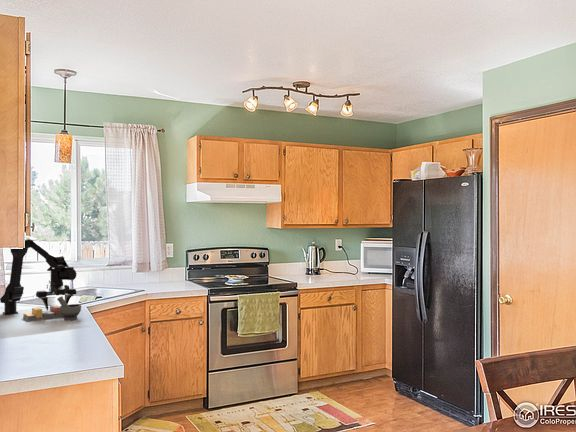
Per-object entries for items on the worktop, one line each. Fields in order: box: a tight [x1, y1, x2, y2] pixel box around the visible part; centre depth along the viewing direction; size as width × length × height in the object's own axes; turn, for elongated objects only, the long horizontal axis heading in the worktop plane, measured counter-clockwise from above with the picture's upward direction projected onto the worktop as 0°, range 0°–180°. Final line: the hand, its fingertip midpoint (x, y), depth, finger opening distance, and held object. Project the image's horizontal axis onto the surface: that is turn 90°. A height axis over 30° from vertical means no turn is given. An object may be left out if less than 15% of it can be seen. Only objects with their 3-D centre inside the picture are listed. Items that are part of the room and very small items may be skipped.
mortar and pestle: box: [57, 295, 82, 322], centre depth 258 cm, size 11×9×12 cm
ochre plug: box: [31, 306, 43, 318], centre depth 262 cm, size 9×3×4 cm, turn 39°
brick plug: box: [49, 304, 62, 315], centre depth 268 cm, size 9×3×4 cm, turn 46°
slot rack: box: [22, 309, 64, 322], centre depth 264 cm, size 10×20×3 cm, turn 130°
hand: (56, 309), depth 267 cm, fingers open, 9 cm apart
